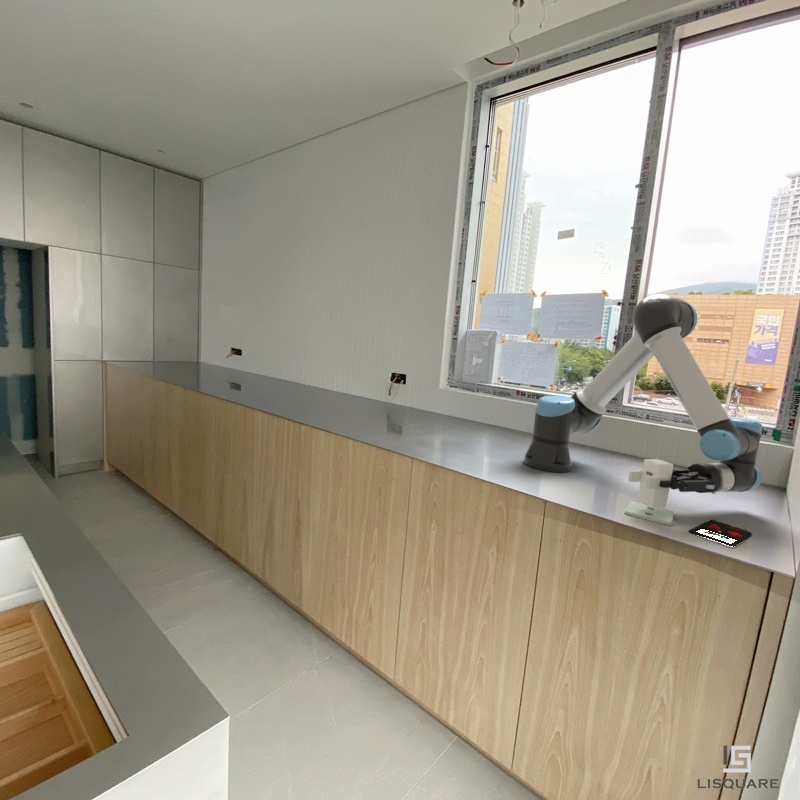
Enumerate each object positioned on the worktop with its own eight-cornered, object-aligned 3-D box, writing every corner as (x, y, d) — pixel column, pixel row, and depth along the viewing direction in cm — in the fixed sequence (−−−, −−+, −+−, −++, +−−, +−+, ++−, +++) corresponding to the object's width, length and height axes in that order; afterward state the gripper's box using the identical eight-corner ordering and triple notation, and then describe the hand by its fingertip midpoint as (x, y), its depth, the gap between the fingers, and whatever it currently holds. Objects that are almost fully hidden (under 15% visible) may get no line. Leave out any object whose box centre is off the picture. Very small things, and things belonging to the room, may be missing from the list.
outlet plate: (624, 513, 111) (624, 510, 111) (630, 503, 119) (630, 500, 119) (670, 526, 106) (671, 523, 106) (673, 514, 114) (674, 511, 114)
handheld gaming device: (754, 531, 105) (733, 545, 96) (753, 536, 105) (732, 550, 96) (711, 517, 112) (688, 529, 103) (710, 522, 112) (687, 534, 103)
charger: (636, 501, 113) (643, 459, 112) (650, 500, 115) (657, 459, 114) (651, 508, 109) (659, 464, 108) (666, 507, 111) (673, 464, 109)
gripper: (739, 504, 109) (667, 508, 102) (675, 480, 126) (609, 482, 118) (745, 474, 108) (673, 476, 101) (680, 454, 125) (613, 455, 117)
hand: (639, 479), depth 110 cm, fingers closed on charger, 4 cm apart
